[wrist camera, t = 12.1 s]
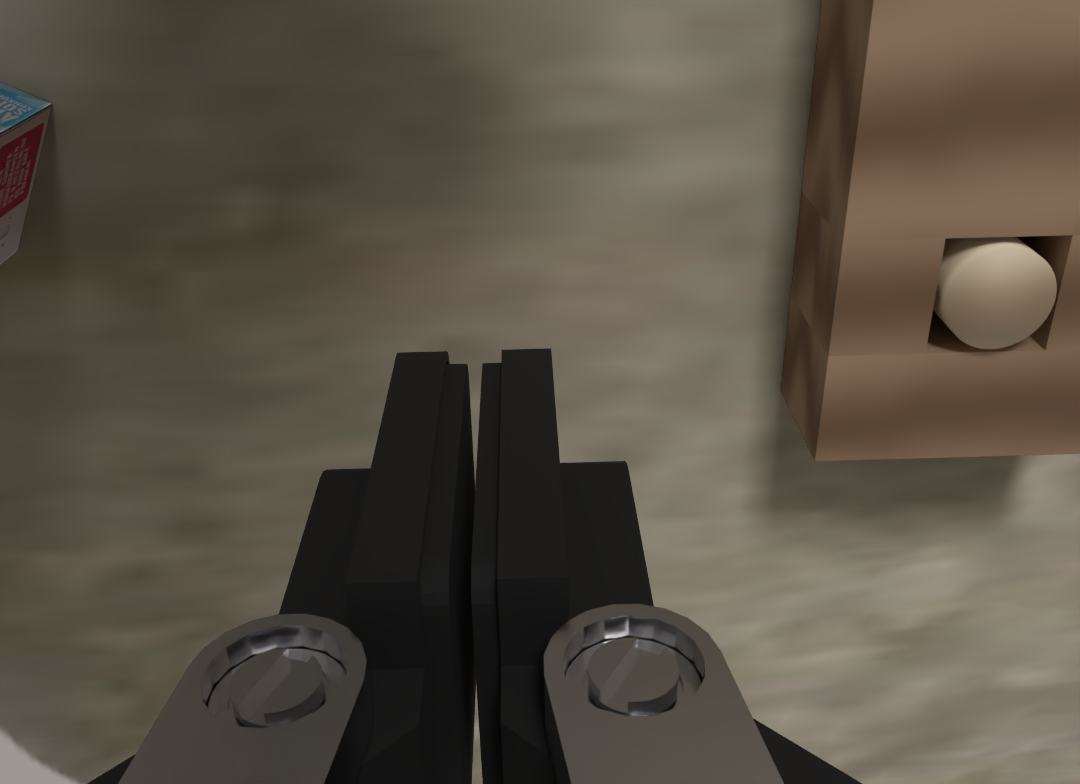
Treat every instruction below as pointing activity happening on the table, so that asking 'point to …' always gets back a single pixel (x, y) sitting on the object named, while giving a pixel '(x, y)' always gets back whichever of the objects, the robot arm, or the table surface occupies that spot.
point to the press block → (934, 227)
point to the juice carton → (18, 160)
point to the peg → (993, 290)
